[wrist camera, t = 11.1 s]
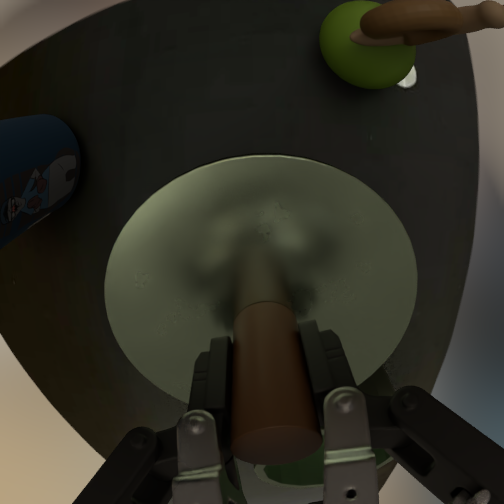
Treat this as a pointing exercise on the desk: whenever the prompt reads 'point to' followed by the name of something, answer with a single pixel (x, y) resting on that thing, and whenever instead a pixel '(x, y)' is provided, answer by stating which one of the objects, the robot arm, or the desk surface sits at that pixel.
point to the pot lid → (260, 287)
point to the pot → (312, 467)
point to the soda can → (34, 171)
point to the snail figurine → (394, 35)
